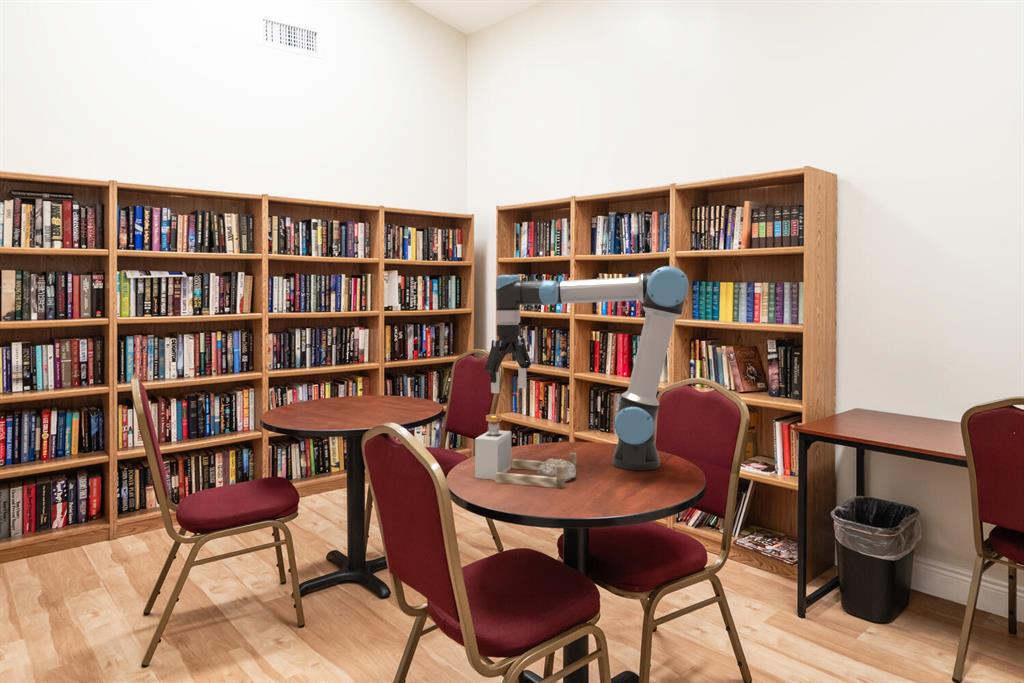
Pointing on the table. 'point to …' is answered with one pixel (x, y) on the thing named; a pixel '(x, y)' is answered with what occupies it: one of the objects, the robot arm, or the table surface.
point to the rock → (551, 468)
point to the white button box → (492, 454)
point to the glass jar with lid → (493, 424)
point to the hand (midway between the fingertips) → (509, 390)
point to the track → (533, 479)
